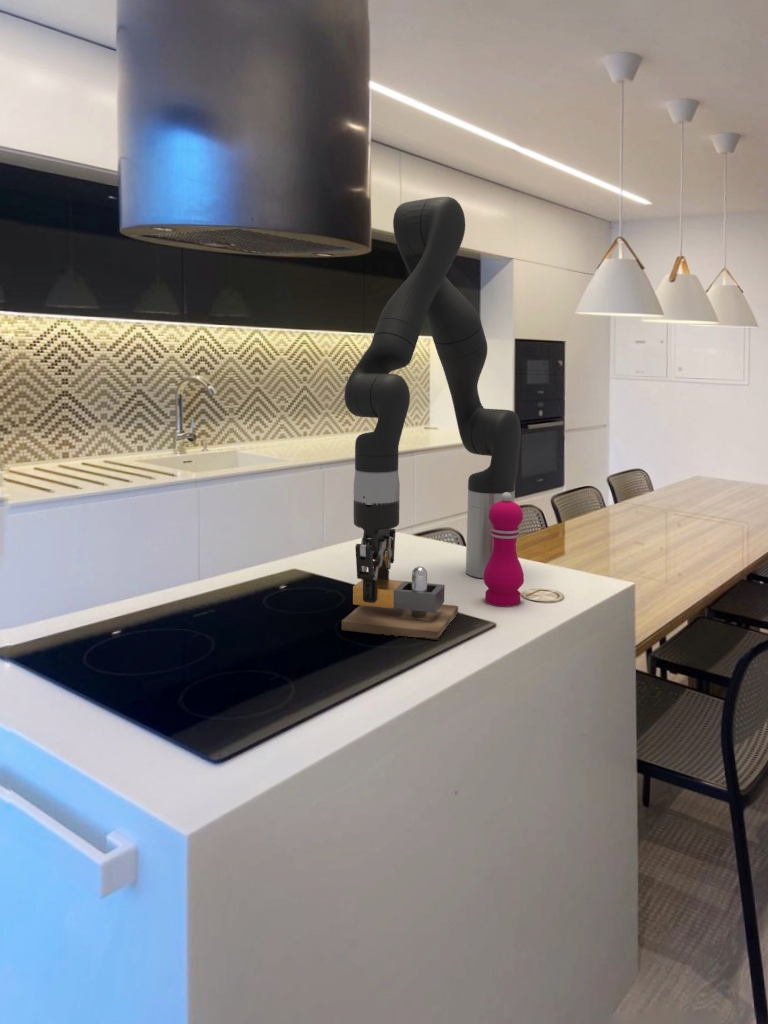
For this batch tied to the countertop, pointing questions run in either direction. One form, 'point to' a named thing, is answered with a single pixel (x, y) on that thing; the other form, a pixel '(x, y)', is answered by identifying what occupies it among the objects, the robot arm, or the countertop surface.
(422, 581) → the post
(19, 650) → the countertop surface
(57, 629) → the countertop surface
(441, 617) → the board
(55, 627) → the countertop surface
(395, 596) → the link
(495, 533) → the pepper mill
